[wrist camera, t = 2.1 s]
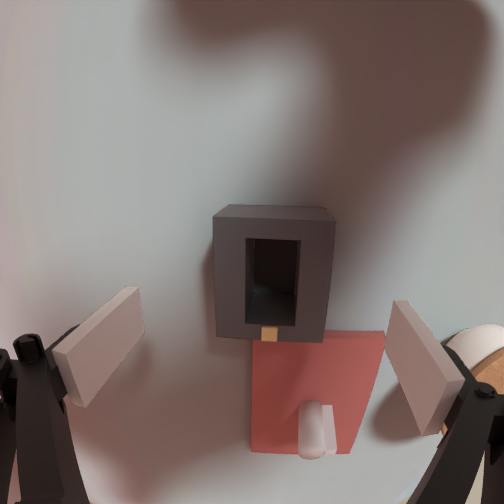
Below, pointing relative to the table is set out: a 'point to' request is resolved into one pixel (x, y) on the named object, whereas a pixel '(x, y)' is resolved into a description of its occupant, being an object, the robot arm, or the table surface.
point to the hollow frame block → (242, 273)
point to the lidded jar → (481, 354)
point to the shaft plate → (312, 392)
